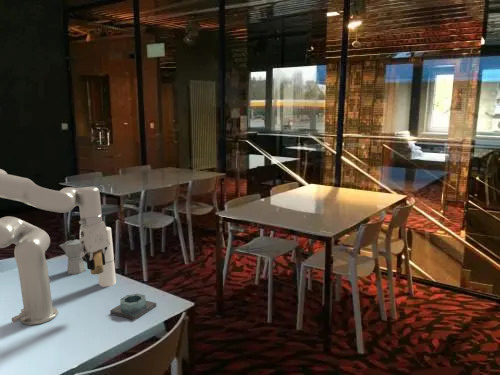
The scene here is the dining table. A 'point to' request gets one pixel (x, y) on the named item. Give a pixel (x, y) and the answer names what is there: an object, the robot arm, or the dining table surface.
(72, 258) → the coffee maker
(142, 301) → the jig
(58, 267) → the dining table surface
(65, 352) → the dining table surface
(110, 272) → the cylindrical container
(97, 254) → the gold round-topped cylinder
